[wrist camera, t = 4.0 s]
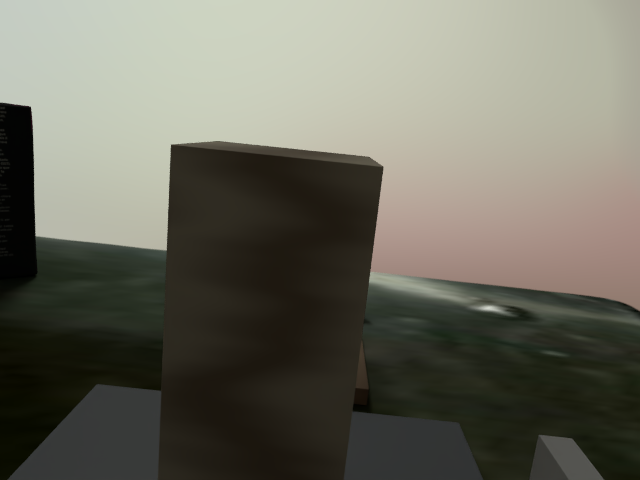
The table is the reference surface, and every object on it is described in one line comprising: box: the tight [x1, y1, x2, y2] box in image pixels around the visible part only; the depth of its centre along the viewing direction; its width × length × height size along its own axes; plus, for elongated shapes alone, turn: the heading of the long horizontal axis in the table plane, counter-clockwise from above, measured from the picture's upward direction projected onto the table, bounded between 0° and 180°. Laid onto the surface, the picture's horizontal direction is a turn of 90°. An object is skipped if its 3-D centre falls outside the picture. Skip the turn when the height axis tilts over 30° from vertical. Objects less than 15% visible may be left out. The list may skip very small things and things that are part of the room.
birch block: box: [158, 141, 383, 480], centre depth 19 cm, size 6×6×14 cm
